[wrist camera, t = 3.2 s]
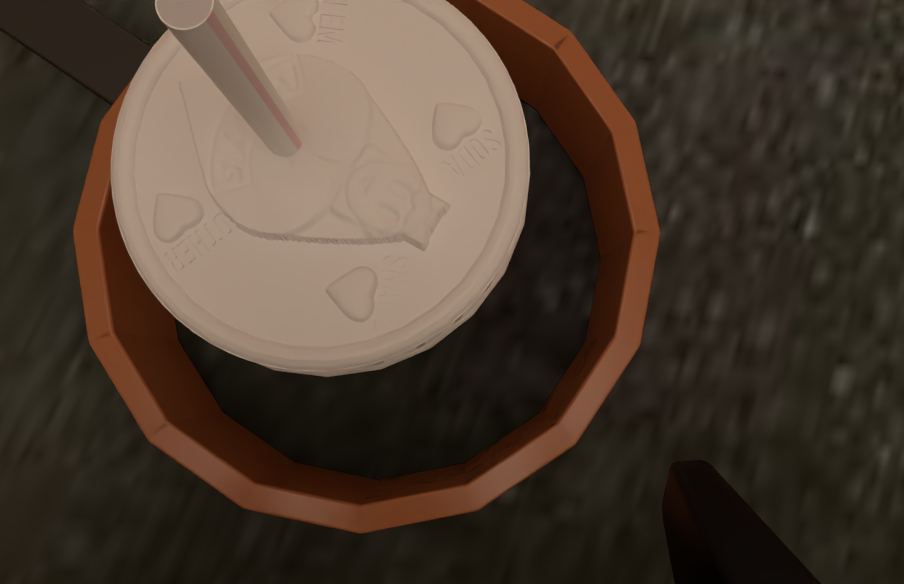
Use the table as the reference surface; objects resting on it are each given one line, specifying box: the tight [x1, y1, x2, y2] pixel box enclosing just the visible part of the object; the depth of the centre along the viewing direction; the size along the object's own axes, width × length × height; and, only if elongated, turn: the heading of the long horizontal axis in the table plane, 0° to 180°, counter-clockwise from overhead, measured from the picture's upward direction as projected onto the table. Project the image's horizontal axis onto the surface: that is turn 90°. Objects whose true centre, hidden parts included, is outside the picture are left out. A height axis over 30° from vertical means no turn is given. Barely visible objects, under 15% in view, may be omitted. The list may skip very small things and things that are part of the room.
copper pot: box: [0, 0, 660, 534], centre depth 19 cm, size 20×13×4 cm, turn 56°
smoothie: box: [111, 0, 530, 377], centre depth 14 cm, size 6×6×14 cm
